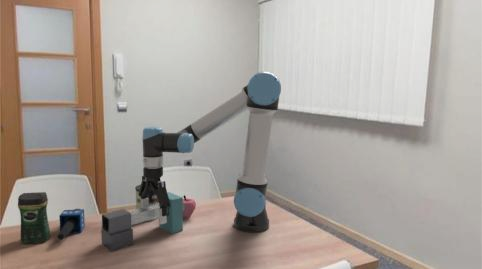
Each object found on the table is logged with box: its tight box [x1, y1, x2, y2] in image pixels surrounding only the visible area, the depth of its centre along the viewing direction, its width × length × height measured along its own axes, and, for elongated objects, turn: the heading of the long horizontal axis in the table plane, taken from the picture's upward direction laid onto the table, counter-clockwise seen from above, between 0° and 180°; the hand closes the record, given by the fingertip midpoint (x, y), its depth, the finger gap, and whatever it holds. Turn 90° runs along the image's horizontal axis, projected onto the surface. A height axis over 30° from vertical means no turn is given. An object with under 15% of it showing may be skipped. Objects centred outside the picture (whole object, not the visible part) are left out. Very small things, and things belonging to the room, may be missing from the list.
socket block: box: [158, 191, 184, 234], centre depth 151 cm, size 10×5×14 cm, turn 44°
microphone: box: [57, 208, 86, 241], centre depth 145 cm, size 8×8×25 cm
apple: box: [182, 194, 197, 220], centre depth 163 cm, size 10×9×10 cm
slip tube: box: [127, 204, 169, 226], centre depth 143 cm, size 4×22×4 cm, turn 134°
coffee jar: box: [17, 191, 51, 245], centre depth 137 cm, size 10×8×19 cm
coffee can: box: [135, 184, 159, 222], centre depth 163 cm, size 10×10×14 cm
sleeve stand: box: [100, 208, 134, 253], centre depth 135 cm, size 8×8×12 cm
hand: (154, 218), depth 145 cm, fingers open, 13 cm apart
